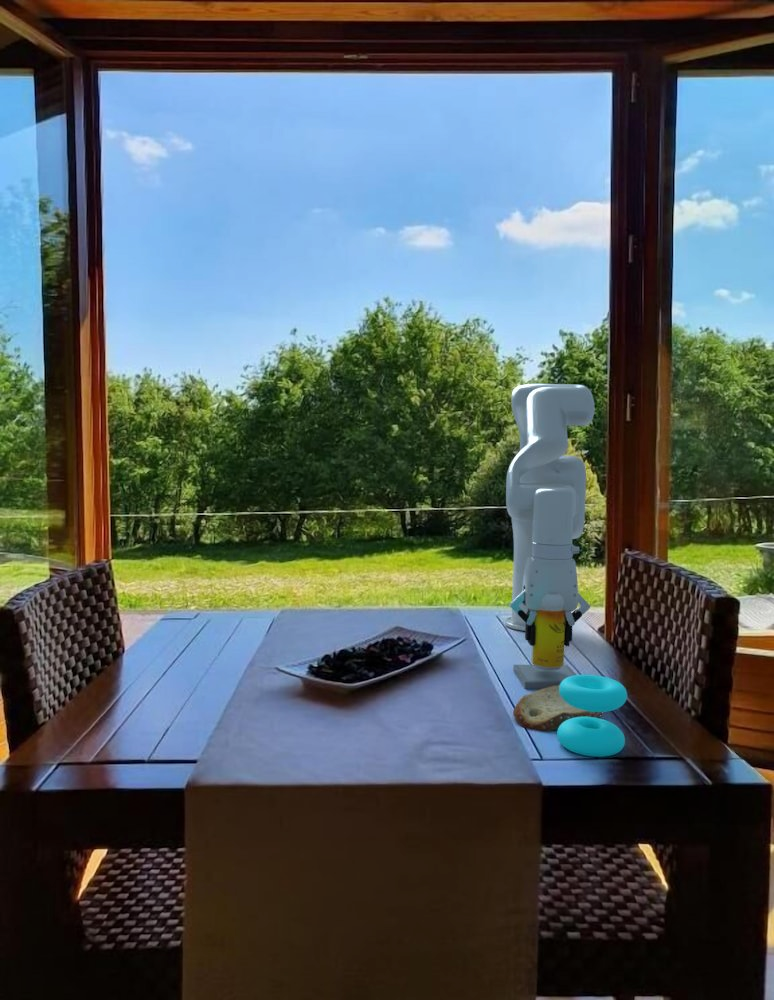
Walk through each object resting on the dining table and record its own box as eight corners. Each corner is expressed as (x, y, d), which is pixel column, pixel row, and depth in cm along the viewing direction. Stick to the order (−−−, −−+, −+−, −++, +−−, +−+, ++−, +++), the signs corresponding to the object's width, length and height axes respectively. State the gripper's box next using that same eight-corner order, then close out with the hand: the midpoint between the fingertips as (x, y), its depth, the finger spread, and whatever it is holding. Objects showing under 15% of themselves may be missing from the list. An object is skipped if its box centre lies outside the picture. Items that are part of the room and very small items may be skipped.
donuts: (641, 685, 115) (597, 697, 109) (638, 750, 116) (594, 765, 110) (589, 668, 123) (545, 678, 117) (586, 729, 124) (543, 742, 118)
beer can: (563, 672, 145) (566, 594, 144) (531, 670, 146) (534, 592, 145) (563, 663, 151) (566, 588, 150) (531, 660, 152) (534, 586, 151)
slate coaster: (513, 670, 154) (513, 664, 154) (567, 671, 154) (567, 664, 154) (524, 688, 143) (524, 681, 143) (583, 689, 144) (583, 682, 143)
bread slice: (589, 694, 142) (590, 674, 141) (630, 732, 124) (631, 709, 124) (494, 696, 140) (495, 676, 139) (522, 734, 122) (523, 711, 122)
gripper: (590, 549, 151) (586, 639, 152) (503, 548, 150) (500, 638, 152) (602, 555, 143) (598, 650, 145) (510, 554, 143) (507, 649, 144)
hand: (548, 643), depth 148 cm, fingers closed on beer can, 6 cm apart
